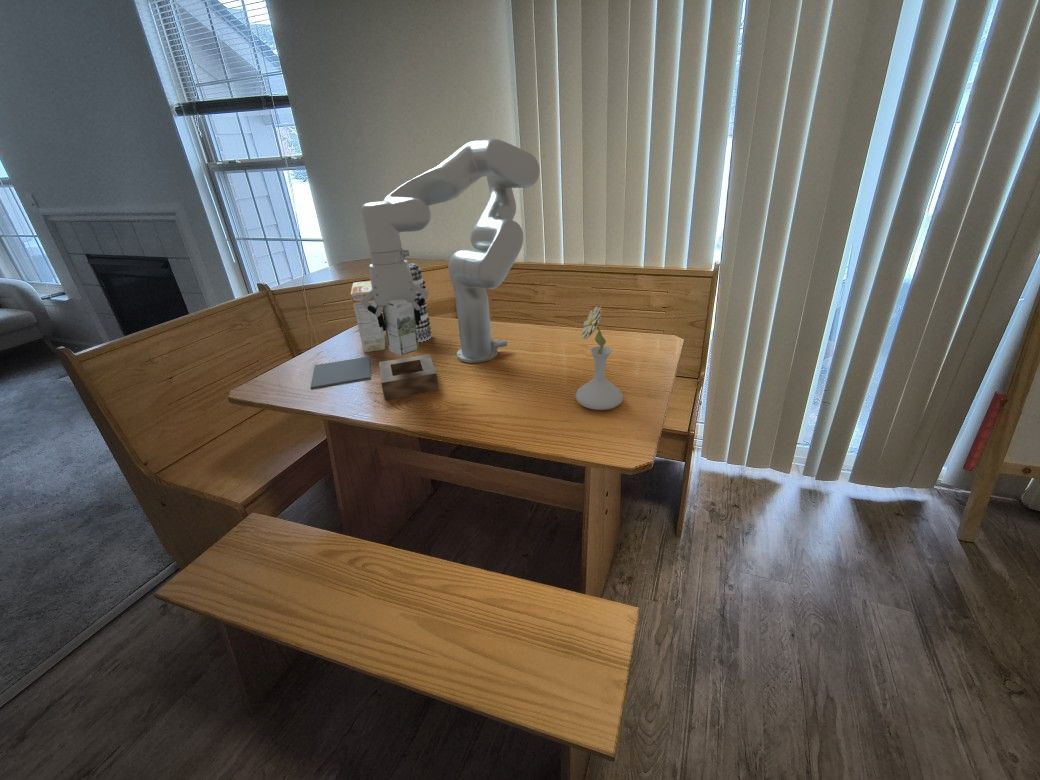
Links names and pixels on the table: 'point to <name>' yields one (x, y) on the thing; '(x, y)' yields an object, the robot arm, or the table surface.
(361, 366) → the charcoal mat
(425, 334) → the black and white tower
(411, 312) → the syrup box
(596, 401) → the flower in vase
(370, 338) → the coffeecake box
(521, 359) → the table surface
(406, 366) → the walnut pocket holder
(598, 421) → the table surface
